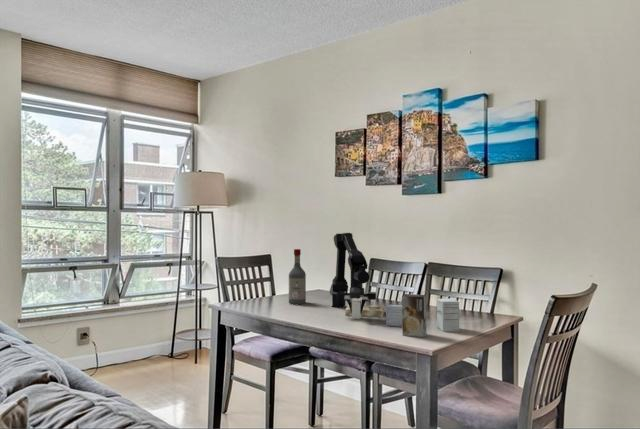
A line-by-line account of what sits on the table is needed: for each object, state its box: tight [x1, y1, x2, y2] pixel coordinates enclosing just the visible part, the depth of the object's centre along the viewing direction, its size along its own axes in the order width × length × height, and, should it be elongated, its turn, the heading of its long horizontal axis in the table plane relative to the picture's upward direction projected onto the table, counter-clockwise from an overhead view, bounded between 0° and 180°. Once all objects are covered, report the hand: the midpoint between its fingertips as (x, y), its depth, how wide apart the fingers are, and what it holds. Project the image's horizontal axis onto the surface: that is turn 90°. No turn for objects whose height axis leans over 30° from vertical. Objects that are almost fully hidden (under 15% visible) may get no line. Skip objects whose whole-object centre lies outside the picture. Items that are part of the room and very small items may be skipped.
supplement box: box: [436, 298, 460, 333], centre depth 204 cm, size 7×7×13 cm
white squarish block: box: [351, 299, 362, 320], centre depth 228 cm, size 4×4×8 cm
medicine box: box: [385, 304, 402, 327], centre depth 212 cm, size 8×4×9 cm, turn 71°
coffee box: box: [401, 293, 428, 338], centre depth 195 cm, size 9×6×16 cm
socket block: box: [344, 304, 385, 318], centre depth 238 cm, size 18×13×3 cm
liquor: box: [288, 248, 307, 305], centre depth 267 cm, size 9×9×30 cm
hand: (356, 313), depth 228 cm, fingers closed on white squarish block, 4 cm apart
